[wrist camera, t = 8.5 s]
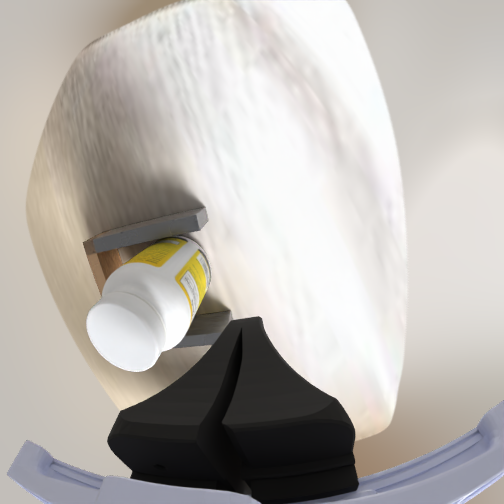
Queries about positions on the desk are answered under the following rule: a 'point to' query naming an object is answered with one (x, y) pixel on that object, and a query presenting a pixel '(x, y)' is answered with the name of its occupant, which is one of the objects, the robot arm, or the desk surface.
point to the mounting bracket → (106, 243)
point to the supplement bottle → (149, 303)
